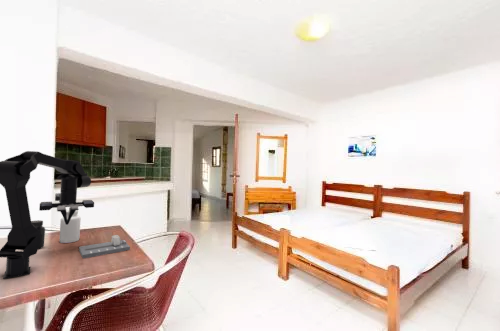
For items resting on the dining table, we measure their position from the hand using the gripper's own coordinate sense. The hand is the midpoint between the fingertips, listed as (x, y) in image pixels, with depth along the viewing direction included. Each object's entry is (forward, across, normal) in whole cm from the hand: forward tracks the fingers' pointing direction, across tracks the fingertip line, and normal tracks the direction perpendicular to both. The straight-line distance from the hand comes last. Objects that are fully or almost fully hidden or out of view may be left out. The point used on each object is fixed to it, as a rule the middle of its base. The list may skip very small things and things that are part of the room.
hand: (66, 224), depth 103 cm
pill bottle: (+12, -3, -16) cm, 20 cm away
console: (+12, -14, +7) cm, 19 cm away
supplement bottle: (+12, +10, -12) cm, 20 cm away
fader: (+10, -18, +7) cm, 22 cm away
